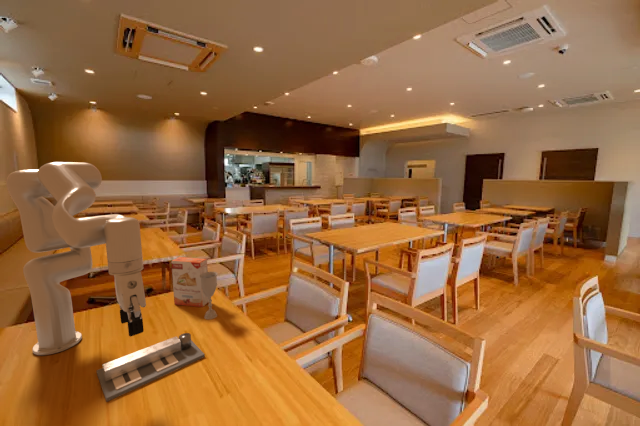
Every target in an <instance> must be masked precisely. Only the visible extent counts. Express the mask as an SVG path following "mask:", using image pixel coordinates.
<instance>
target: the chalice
mask: <svg viewBox="0 0 640 426" xmlns="http://www.w3.org/2000/svg"><path fill="white" fill-rule="evenodd" d="M217 277H218V272H216V271H208V272H206V273H203V274H201V275H200V278H201V288H202V290H203V292H204V294H205V295H206V297H208V298H209V300H208V305H207V307H208V310H207V311H206V312H205V314H204V319H205V320H214V319H215V318H217V317H218V314H217V312H216V310H215V309H213V308H212V306H213V303H212V297H213V296H214V294H215V292H216V290H217V286H218V280H217V279H218V278H217Z"/></svg>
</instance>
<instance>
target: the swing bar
mask: <svg viewBox="0 0 640 426" xmlns="http://www.w3.org/2000/svg"><path fill="white" fill-rule="evenodd" d="M191 335H192V334H191V333H190V332H185V333H182V334H180V335H179V336H173V337H170V338H168V339H166V340H163V341H160V342H158V343H155V344H152V345H150V346H148V347H144V348H142V349H139V350H137V351H134V352H132V353H129V354H126V355H123V356H121V357H118V358H116V359H113V360H110V361H108V362H105V363H103V364H102V368H103V374H104V377H105V380H106V381H108V380H110V379H113V378H115V377H117V376H120V375H122V374H125V373H127V372H129V371H132V370H134V369H137V368H139V367H141V366H144V365H146V364H149V363H151V362H153V361H156V360H158V359H161V358H163V357H165V356H168V355H170V354H173V353H175V352H177V351H180V350H186V349H188V348H190V347H191V340H192V337H191ZM178 338H179V339H178Z"/></svg>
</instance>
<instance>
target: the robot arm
mask: <svg viewBox="0 0 640 426" xmlns="http://www.w3.org/2000/svg"><path fill="white" fill-rule="evenodd" d="M102 180H103V179H102V174H101V172H100V169H98V168H97V167H96V166H95V165H94V164H92V163H89V162H77V161H76V162H75V161H74V162H73V161H53V162H47V163H45V164H43V165H41V166H40V167H39V168H38V169H37V168H36V169H20V170H16V171H12V172H11V173H9V174H8V176H7V178H6V180H5V181H6V189H7V192H8V195H9V196H10V198H11V200H12V201H13V203H14V204H15V206H16V208H17V210H18V213H19V216H20V222H21V228H22V233H23V239H24V243H25V246H26V248H27V250H28V251H29V252H31V253H45V252H52V251H57V250H63V249H67V248H69V249H70V250H67V251H63V252H56V253H52V254H47V255H43V256H38V257H35V258H32V259H30V260H29V261H27V262H26V263H25V264H24V266H23V268H22V270H23V276H24V279H25V281H26V284H27V287H28V289H29V294H30V299H31V303H32V310H33V318H34V323H35V330H36V337H37V343H35V344H34V345H33V347H32V353H33V354H34V355H36V356H47V355H53V354H57V353H60V352H61V353H62V352H63V351H67V350H68V349H70V348H72V347H75V345H77V344H78V343H79V342H80V341H81V340H82V338H83V335H82V333H81V332H79V331H76V328H75V327H76V326H75V325H76V324H75V318H74V311H73V310H74V309H73V301H72V295H71V291H70V290H69V288H68V287H65V286H63V285H62V284H60V283H61V282H64V281H67V280H71V279H73V278H77V277H81V276H84V275H87V274H88V273H90V272H91V271H92V269H93V257H92V256H93V255H92V249H91V247H94V246H95V247H96V246H99V245H104V244H105V250H106V259H107V267H108V268H107V270H108V274H109V275H110V276H113V278H114V288H115V295H116V296H115V297H116V300H117V303H118V305H119V315H120V316H119V317H120V323H121V324H122V325H123V324H126V323H127V329H128V337H129V338H130V337H133V336H136V335H139V334H142V333H143V332H144V321H143V315H142V309H141V308H146V306H147V302H146V301H147V300H146V295H145V288H144V281H143V276H142V270H143V269H144V261H143V260H144V259H143V250H142V249H143V247H142V238H141V235H142V234H141V226H140V222H139V220H138V219H137V218H135V217H129V216H125V215H123V214H119V213H114V214H113V213H112V214H105V215H95V216H94V215H93V216H86V217H79V218H76V217H74V216H75V215H77V214H80V213H81V212H83V211H85V210H87V209H89V208H90V207H91V206H93V204H94V203H95V201H96V199H97V195H96V192H95V190H97V189H98V188H100V187H101V185H102V182H103V181H102ZM45 197H53V199H54V200H56V203H55V205H54V204H53V203H52V202H50V200H49V199H47V198H45Z"/></svg>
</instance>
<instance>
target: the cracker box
mask: <svg viewBox="0 0 640 426" xmlns="http://www.w3.org/2000/svg"><path fill="white" fill-rule="evenodd" d="M206 272H209V271H208V259H207V258H197V257H183V256H179V257H176V258H174V259H172V260H171V273H172V274H171V275H172V286H173V289H172V290H173V302H174V305H175V306H176V305H177V306H188V307H199V308H203V307H205V306H206V305H207V304H209V302H208V300H209V298H208V297H206V295H205V294H204V292H203V290H202V288H201V278H200V275H201V274H203V273H206Z"/></svg>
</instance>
